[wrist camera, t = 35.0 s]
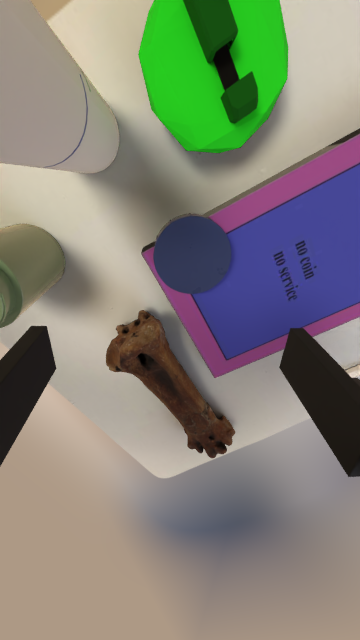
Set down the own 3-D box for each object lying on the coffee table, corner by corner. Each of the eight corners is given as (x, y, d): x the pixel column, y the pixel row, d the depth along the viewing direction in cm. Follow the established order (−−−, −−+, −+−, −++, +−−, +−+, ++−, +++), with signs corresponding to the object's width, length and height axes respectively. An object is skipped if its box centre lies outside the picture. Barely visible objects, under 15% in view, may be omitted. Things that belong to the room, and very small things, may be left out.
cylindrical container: (59, 176, 28) (-316, 151, 6) (38, 91, 25) (-930, -605, 3) (124, 170, 28) (-18, 128, 6) (112, 85, 25) (-281, -633, 3)
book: (141, 253, 30) (416, 103, 24) (143, 247, 32) (391, 110, 27) (214, 378, 39) (426, 288, 33) (211, 365, 41) (407, 280, 36)
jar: (6, 287, 34) (-75, 340, 22) (-12, 222, 30) (-121, 246, 19) (69, 288, 34) (21, 341, 23) (59, 225, 31) (-5, 249, 19)
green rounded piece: (121, 55, 24) (91, -32, 14) (235, -38, 22) (291, -216, 12) (185, 181, 29) (195, 181, 19) (283, 117, 27) (350, 79, 17)
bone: (201, 484, 43) (90, 363, 29) (191, 440, 51) (98, 327, 36) (249, 461, 43) (159, 325, 28) (232, 420, 50) (153, 296, 35)
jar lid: (215, 292, 32) (218, 300, 30) (148, 279, 31) (147, 286, 29) (236, 223, 29) (241, 226, 27) (161, 205, 27) (161, 207, 25)
